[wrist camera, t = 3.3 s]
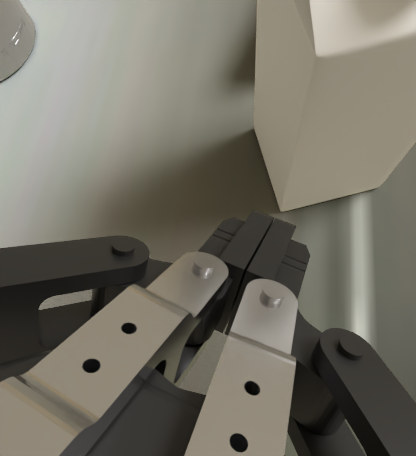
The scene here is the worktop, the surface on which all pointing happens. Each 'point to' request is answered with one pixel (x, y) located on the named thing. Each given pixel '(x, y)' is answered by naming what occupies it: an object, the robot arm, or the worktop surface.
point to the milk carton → (333, 94)
